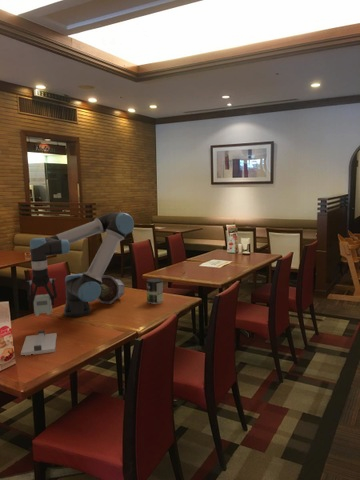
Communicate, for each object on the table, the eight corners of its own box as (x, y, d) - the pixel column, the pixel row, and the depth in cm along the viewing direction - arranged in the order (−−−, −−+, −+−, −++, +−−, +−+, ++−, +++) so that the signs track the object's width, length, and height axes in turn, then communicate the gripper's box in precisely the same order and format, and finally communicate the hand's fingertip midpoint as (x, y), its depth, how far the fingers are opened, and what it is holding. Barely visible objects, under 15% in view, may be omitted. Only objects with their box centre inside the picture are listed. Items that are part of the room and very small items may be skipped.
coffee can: (149, 304, 241) (148, 282, 239) (145, 300, 251) (144, 278, 249) (165, 302, 244) (164, 281, 242) (161, 298, 254) (160, 277, 252)
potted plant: (105, 274, 261) (80, 273, 233) (129, 277, 255) (107, 276, 227) (102, 301, 259) (77, 302, 231) (126, 304, 254) (103, 306, 225)
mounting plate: (56, 335, 191) (56, 329, 191) (54, 351, 172) (54, 344, 172) (26, 339, 188) (26, 332, 187) (21, 355, 169) (20, 348, 168)
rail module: (51, 310, 205) (49, 293, 203) (50, 314, 198) (48, 297, 196) (37, 312, 203) (35, 295, 202) (35, 316, 196) (34, 299, 195)
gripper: (17, 271, 191) (21, 316, 194) (60, 268, 196) (63, 312, 199) (19, 268, 198) (23, 312, 201) (60, 265, 203) (63, 307, 206)
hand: (43, 312), depth 200 cm, fingers closed on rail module, 7 cm apart
